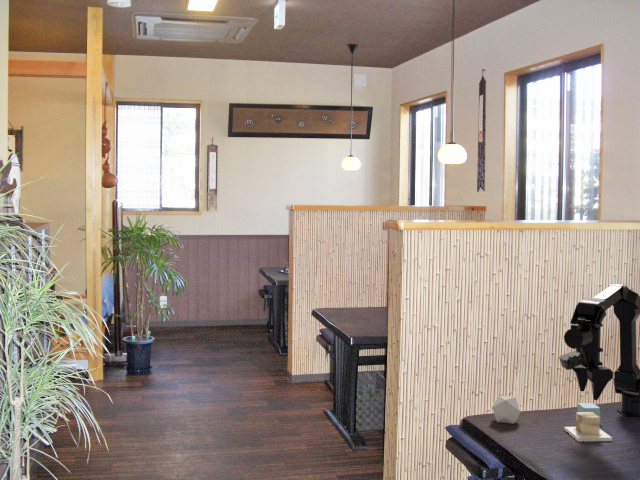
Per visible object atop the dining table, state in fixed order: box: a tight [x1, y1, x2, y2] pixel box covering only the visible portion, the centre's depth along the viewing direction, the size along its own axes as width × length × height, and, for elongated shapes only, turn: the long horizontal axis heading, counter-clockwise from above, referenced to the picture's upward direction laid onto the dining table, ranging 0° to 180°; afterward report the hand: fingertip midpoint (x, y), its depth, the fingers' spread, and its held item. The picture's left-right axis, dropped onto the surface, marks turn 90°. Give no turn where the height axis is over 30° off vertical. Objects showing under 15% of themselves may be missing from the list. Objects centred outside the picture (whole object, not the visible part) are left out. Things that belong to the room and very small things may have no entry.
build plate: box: [563, 426, 613, 443], centre depth 207 cm, size 10×10×1 cm
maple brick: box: [575, 411, 601, 434], centre depth 207 cm, size 5×5×5 cm
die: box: [491, 395, 522, 424], centre depth 220 cm, size 8×9×10 cm
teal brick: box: [577, 402, 601, 418], centre depth 221 cm, size 5×5×5 cm
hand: (588, 395), depth 208 cm, fingers open, 9 cm apart
